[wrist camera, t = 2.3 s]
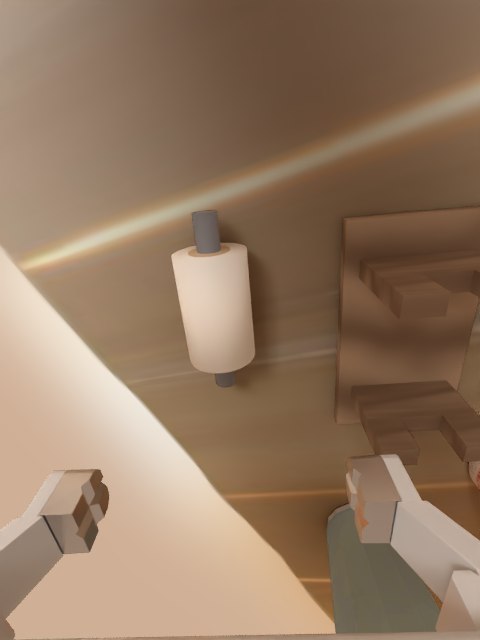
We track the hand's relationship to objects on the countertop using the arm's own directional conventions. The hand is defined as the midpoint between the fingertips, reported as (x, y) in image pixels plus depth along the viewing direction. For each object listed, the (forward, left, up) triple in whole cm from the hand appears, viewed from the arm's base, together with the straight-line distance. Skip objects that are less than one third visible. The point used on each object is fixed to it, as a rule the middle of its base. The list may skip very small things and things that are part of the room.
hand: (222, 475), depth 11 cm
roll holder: (+4, +13, -16) cm, 21 cm away
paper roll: (0, -1, -14) cm, 14 cm away
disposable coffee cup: (+28, +11, -17) cm, 34 cm away
